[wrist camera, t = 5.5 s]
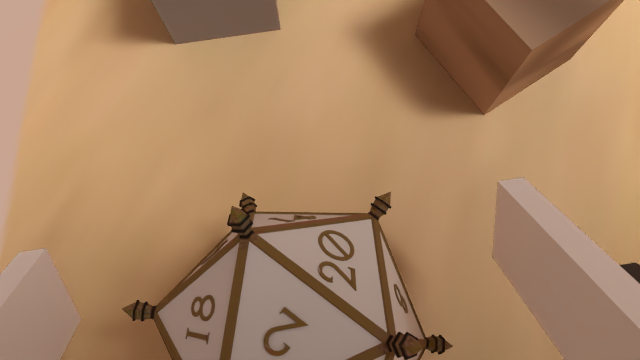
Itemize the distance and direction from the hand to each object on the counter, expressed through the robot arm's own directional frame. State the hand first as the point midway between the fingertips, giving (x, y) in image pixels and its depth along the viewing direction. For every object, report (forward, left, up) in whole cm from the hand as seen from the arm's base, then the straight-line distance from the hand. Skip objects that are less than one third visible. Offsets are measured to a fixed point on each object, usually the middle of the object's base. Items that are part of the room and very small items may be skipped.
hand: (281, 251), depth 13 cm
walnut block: (-12, -7, -5) cm, 14 cm away
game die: (0, +2, -5) cm, 5 cm away
